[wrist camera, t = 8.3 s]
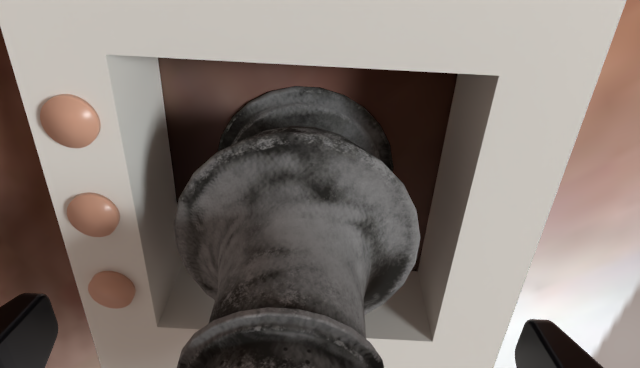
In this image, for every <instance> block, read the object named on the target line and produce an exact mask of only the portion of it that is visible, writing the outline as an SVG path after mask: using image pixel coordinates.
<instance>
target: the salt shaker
mask: <svg viewBox="0 0 640 368" xmlns="http://www.w3.org/2000/svg"><path fill="white" fill-rule="evenodd" d="M174 231H175V238H176V245H177V251H178V253H179V255H180V257H181V259H182V261H183V263H184V265H185V267H186V269H187V272H188V273H189V275H190V276H191V277H192V278H193V279H194V280H195V281H196V283H197V284H198V285H199V286H200V287H201V288H202V290H203V291H204V292H205V293H206V294H207V295H208V296H210V297H211V298H213V299H214V300H215V302H214V306H213V309H212V313H211V316H210V320H209V323H208V324H207V325H206V326H204V327H203V328H201V329H200V330H199V331H197V332H196V333H194V334H193V336H192V337H191V338H190V339H189V341H188V342H187V343H186V345H185V346H184V347H183V349H182V351H181V354H180V357H179V361H178V365H177V368H384V364H383V360H382V358H381V357H380V355H379V354H378V353H377V351H376V350H375V348H374V347H373V345H372V344H371V343H370V342H369V341H368V340H367V339H366V330H365V315H366V314H367V313H369V312H371V311H372V310H374V309H376V308H377V307H379V306H381V305H382V304H384V303H385V302H386V301H387V300H388V299H389V298H390V297H391V296H392V295H393V294H394V293H395V292H396V291H397V290H398V289H400V288H401V287H402V286H403V284H404V283H405V281H406V279H407V277H408V275H409V274H410V272H411V270H412V268H413V267H414V265H415V263H416V258H417V253H418V248H419V243H420V231H419V224H418V217H417V211H416V208H415V206H414V204H413V202H412V200H411V198H410V196H409V194H408V192H407V190H406V188H405V186H404V184H403V183H402V182H401V181H400V180H399V179H398V178H397V177H396V176H395V174H394V173H393V161H392V155H391V149H390V144H389V142H388V140H387V138H386V136H385V134H384V132H383V130H382V128H381V126H380V124H379V123H378V122H377V121H376V120H375V119H374V118H373V117H372V115H371V114H370V113H369V112H368V111H367V110H366V109H365V108H364V107H362V106H361V105H359V104H358V103H356V102H354V101H353V100H351V99H350V98H348V97H346V96H345V95H342V94H339V93H336V92H333V91H329V90H326V89H323V88H318V87H300V86H294V87H289V88H284V89H279V90H274V91H270V92H268V93H266V94H264V95H262V96H260V97H258V98H256V99H254V100H252V101H250V102H249V103H247V104H246V105H245V106H244V107H243V108H242V109H241V110H240V111H239V112H238V113H236V114H235V115H234V116H233V117H232V119H231V121H230V122H229V124H228V126H227V127H226V129H225V131H224V133H223V134H222V136H221V140H220V144H219V148H218V152H216V153H215V154H214V155H213V156H212V157H211V158H210V159H209V160H207V161H206V162H205V163H204V164H203V165H202V166H201V167H200V168H198V169H197V170H196V171H195V172H194V173H193V175H192V177H191V178H190V180H189V182H188V183H187V185H186V187H185V189H184V190H183V192H182V194H181V195H180V197H179V200H178V205H177V210H176V215H175V220H174Z"/></svg>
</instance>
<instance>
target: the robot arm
mask: <svg viewBox="0 0 640 368" xmlns="http://www.w3.org/2000/svg"><path fill="white" fill-rule="evenodd" d="M57 333H58V323H57V320H56V317H55V314H54V311H53V308H52V305H51V302H50V300H49V298H48V297H47V296H46V295H45V294H36V293H24V294H21V295H19V296H17V297H15V298H14V299H12V300H11V301H9V302H8V303H6V304H4V305H3V306H1V307H0V368H45V366H46V364H47V361H48V358H49V356H50V353H51V351H52V348H53V345H54V343H55V340H56V337H57ZM515 361H516V366H517V368H603V367H602V366H601V365H600V364H599V363H598V362H597V361H595V360H594V359H593V358H592V357H591V356H590V355H589V354H588V353H587V352H585V351H584V350H583V349H582V348H581V347H580V346H579V345H578V344H577V343H575V342H574V341H573V340H572V339H571V338H570V337H569V336H568V335H567V334H565V333H564V332H563V331H562V330H561V329H560V328H559V327H558V326H557V325H555V324H554V323H553V322H551V321H549V320H536V319H530V320H528V321H527V322H526V323H525V325H524V327H523V330H522V333H521V335H520V338H519V340H518V343H517V345H516V349H515Z"/></svg>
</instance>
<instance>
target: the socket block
mask: <svg viewBox="0 0 640 368" xmlns="http://www.w3.org/2000/svg"><path fill="white" fill-rule="evenodd" d="M625 3H626V0H0V27H1V30H2V34H3V37H4V41H5V44H6V47H7V51H8V54H9V57H10V61H11V64H12V68H13V71H14V74H15V78H16V81H17V85H18V88H19V91H20V95H21V98H22V101H23V105H24V108H25V112H26V115H27V118H28V122H29V125H30V129H31V132H32V135H33V139H34V142H35V145H36V149H37V152H38V156H39V159H40V162H41V166H42V169H43V173H44V176H45V179H46V183H47V186H48V189H49V193H50V196H51V200H52V203H53V206H54V210H55V213H56V216H57V220H58V223H59V227H60V230H61V233H62V237H63V240H64V244H65V247H66V250H67V254H68V257H69V260H70V264H71V267H72V271H73V274H74V277H75V281H76V284H77V288H78V291H79V294H80V298H81V301H82V304H83V308H84V311H85V315H86V318H87V321H88V325H89V328H90V332H91V335H92V338H93V342H94V345H95V348H96V352H97V355H98V359H99V362H100V365H101V368H177V365H178V361H179V357H180V354H181V351H182V349H183V347H184V346H185V345H186V343H187V342H188V341H189V339H190V338H191V337H192V336H193V334H194V333H196V332H197V331H199V330H200V329H201V328H203V327H204V326H206V325H207V324H208V323H209V320H210V316H211V313H212V309H213V306H214V302H215V300H214V299H213V298H211V297H210V296H208V295H207V294H206V293H205V292H204V291H203V290H202V288H201V287H200V286H199V285H198V284H197V283H196V281H195V280H194V279H193V278H192V277H191V276H190V275H189V273H188V272H187V269H186V267H185V265H184V263H183V261H182V259H181V257H180V255H179V253H178V251H177V245H176V238H175V231H174V220H175V215H176V210H177V200H176V192H175V185H174V177H173V169H172V162H171V154H170V147H169V139H168V132H167V124H166V116H165V109H164V101H163V94H162V86H161V78H160V71H159V63H158V57H160V58H178V59H197V60H215V61H234V62H253V63H271V64H290V65H308V66H327V67H346V68H364V69H383V70H401V71H420V72H438V73H457V74H458V75H457V80H456V85H455V90H454V95H453V100H452V105H451V110H450V115H449V120H448V125H447V129H446V134H445V139H444V144H443V149H442V154H441V159H440V164H439V169H438V174H437V179H436V184H435V189H434V194H433V198H432V203H431V208H430V213H429V218H428V223H427V228H426V233H425V238H424V243H423V248H422V253H421V258H420V263H419V267H418V271H411V272H410V274H409V275H408V277H407V279H406V281H405V283H404V284H403V286H402V287H401V288H400V289H398V290H397V291H396V292H395V293H394V294H393V295H392V296H391V297H390V298H389V299H388V300H387V301H386V302H385V303H384V304H382V305H381V306H379V307H377V308H376V309H374V310H372V311H371V312H369V313H367V314H366V315H365V330H366V339H367V340H368V341H369V342H370V343H371V344H372V345H373V347H374V348H375V350H376V351H377V353H378V354H379V355H380V357H381V358H382V360H383V364H384V368H493V367H494V364H495V361H496V359H497V356H498V353H499V350H500V348H501V345H502V342H503V339H504V337H505V334H506V331H507V328H508V326H509V323H510V320H511V317H512V315H513V312H514V309H515V306H516V304H517V301H518V298H519V295H520V293H521V290H522V287H523V284H524V282H525V279H526V276H527V273H528V270H529V268H530V265H531V262H532V259H533V257H534V254H535V251H536V248H537V246H538V243H539V240H540V237H541V235H542V232H543V229H544V226H545V224H546V221H547V218H548V215H549V213H550V210H551V207H552V204H553V202H554V199H555V196H556V193H557V190H558V188H559V185H560V182H561V179H562V177H563V174H564V171H565V168H566V166H567V163H568V160H569V157H570V155H571V152H572V149H573V146H574V144H575V141H576V138H577V135H578V133H579V130H580V127H581V124H582V122H583V119H584V116H585V113H586V110H587V108H588V105H589V102H590V99H591V97H592V94H593V91H594V88H595V86H596V83H597V80H598V77H599V75H600V72H601V69H602V66H603V64H604V61H605V58H606V55H607V53H608V50H609V47H610V44H611V42H612V39H613V36H614V33H615V30H616V28H617V25H618V22H619V19H620V17H621V14H622V11H623V8H624V6H625Z"/></svg>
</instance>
